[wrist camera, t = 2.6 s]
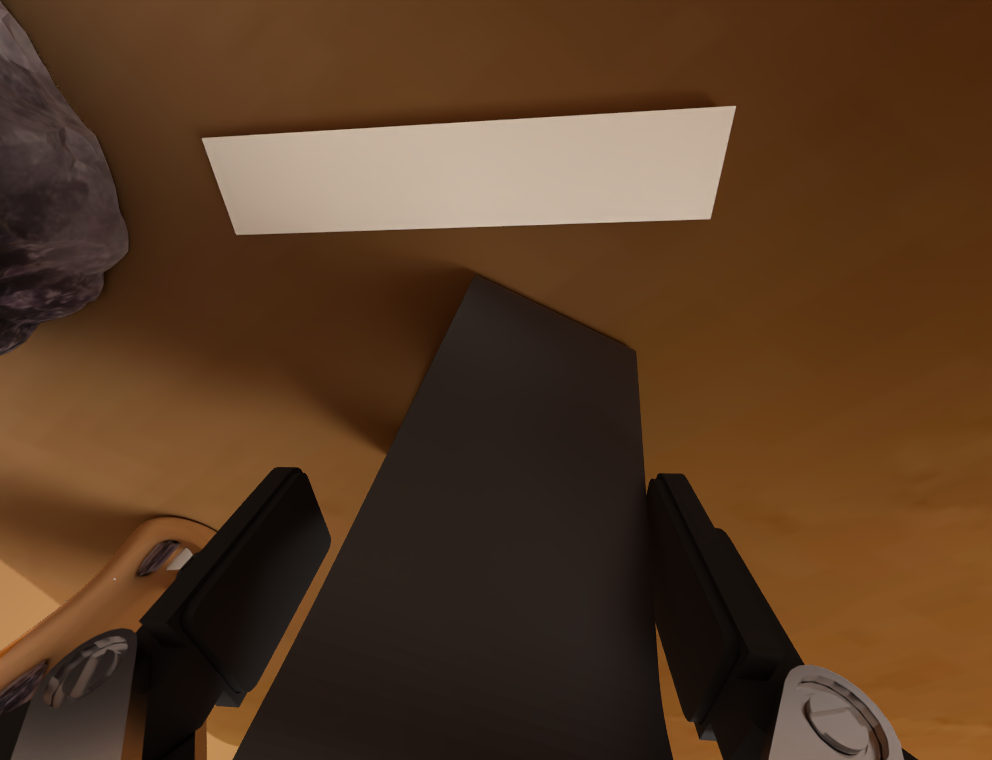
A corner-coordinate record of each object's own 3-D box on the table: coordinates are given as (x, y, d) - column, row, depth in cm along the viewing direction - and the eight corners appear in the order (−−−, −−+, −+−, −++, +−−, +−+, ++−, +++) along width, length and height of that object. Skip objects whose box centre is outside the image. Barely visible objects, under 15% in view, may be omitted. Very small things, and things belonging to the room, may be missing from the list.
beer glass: (276, 560, 20) (-193, 1257, 7) (222, 601, 23) (-193, 1165, 10) (157, 489, 18) (-827, 1295, 5) (113, 544, 21) (-605, 1164, 8)
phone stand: (477, 270, 12) (-7, 1073, 1) (634, 347, 12) (1206, 1227, 2) (397, 458, 16) (136, 999, 5) (518, 506, 17) (501, 1057, 6)
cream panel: (724, 110, 9) (736, 105, 9) (701, 217, 10) (710, 218, 10) (218, 140, 10) (201, 138, 10) (249, 233, 12) (236, 235, 11)
